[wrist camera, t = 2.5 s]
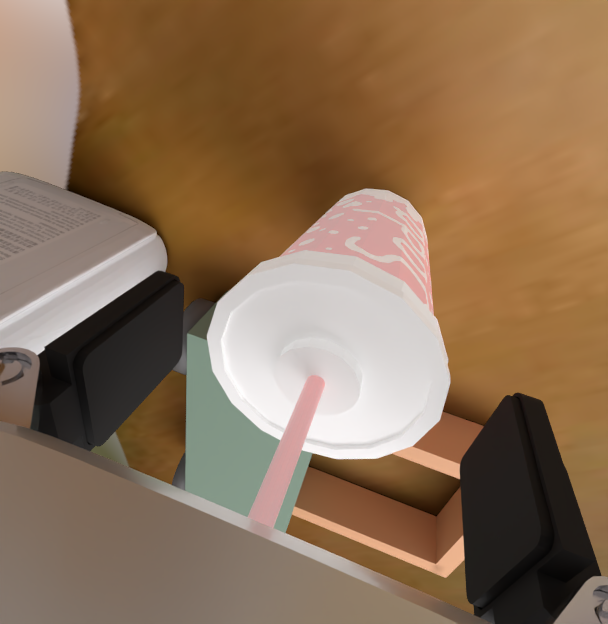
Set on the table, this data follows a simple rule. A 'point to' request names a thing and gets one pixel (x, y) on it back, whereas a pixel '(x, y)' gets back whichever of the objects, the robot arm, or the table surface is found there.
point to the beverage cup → (335, 341)
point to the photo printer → (64, 259)
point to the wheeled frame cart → (308, 481)
